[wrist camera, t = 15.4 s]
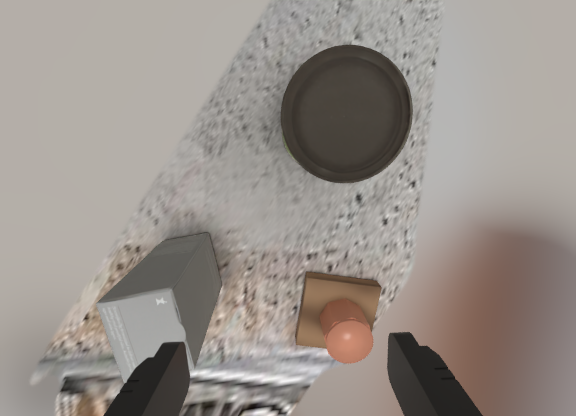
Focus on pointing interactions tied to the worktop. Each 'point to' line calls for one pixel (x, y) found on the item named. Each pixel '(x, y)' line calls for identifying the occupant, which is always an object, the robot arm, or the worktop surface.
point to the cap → (346, 331)
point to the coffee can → (346, 114)
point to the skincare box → (162, 302)
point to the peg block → (327, 290)
